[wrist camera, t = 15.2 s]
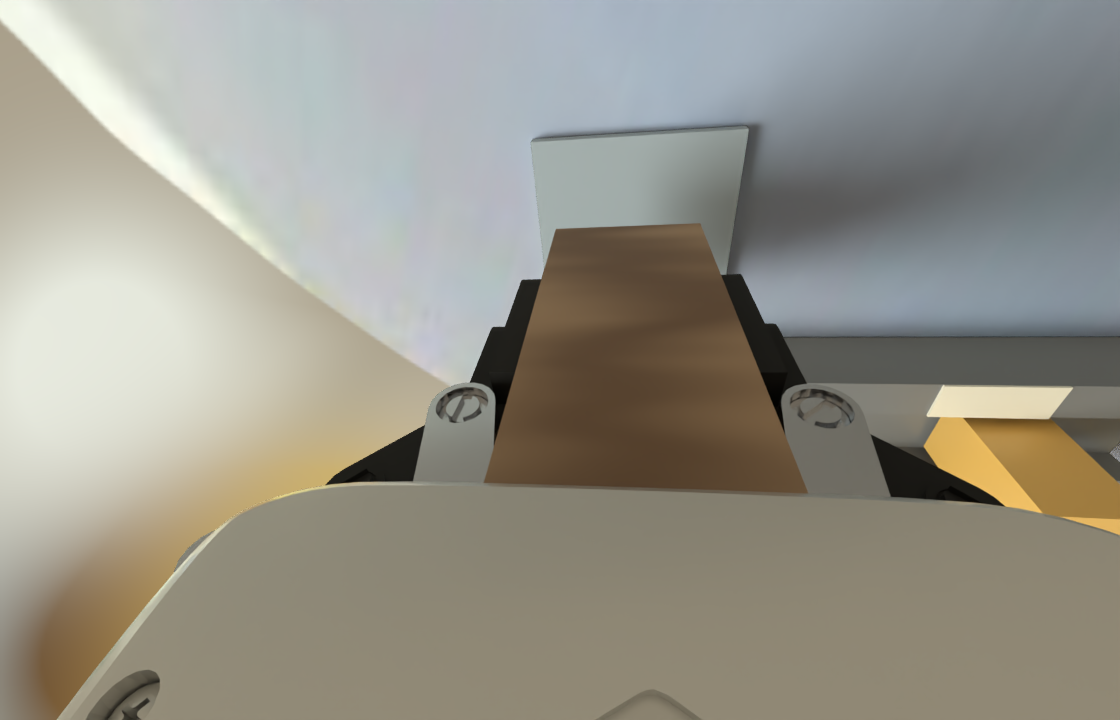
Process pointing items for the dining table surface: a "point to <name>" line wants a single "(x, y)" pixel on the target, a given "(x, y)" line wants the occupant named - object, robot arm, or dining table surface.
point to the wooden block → (639, 373)
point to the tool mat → (642, 182)
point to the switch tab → (1028, 467)
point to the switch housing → (973, 384)
